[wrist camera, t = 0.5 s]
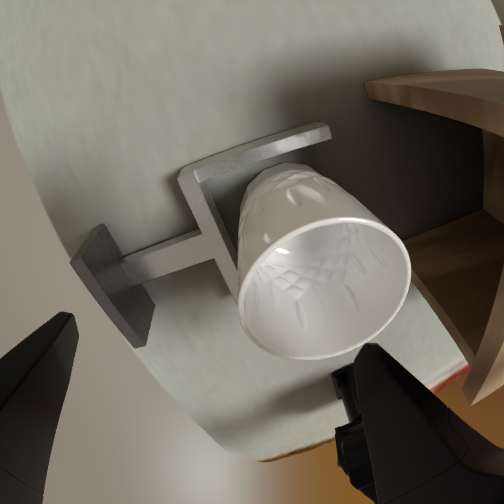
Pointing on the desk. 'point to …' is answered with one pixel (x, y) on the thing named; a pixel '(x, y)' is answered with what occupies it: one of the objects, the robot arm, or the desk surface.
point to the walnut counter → (463, 223)
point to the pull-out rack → (177, 238)
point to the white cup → (314, 266)
